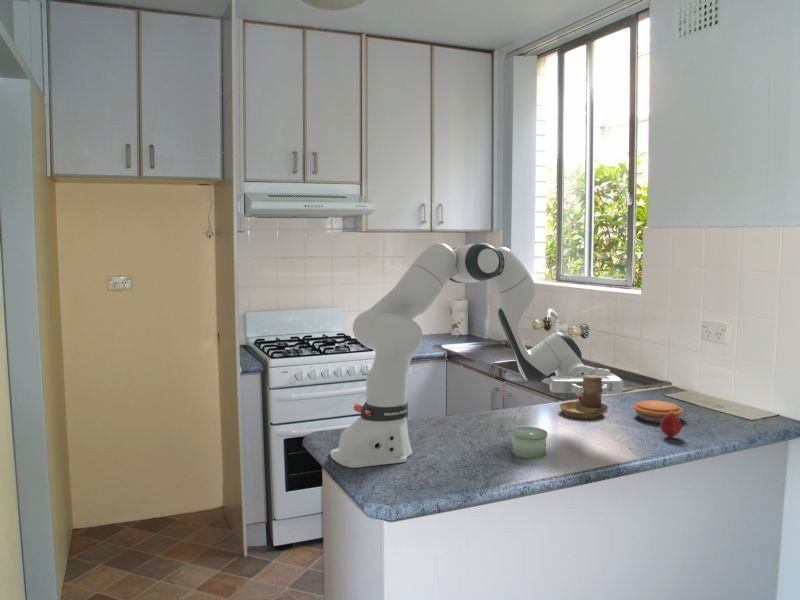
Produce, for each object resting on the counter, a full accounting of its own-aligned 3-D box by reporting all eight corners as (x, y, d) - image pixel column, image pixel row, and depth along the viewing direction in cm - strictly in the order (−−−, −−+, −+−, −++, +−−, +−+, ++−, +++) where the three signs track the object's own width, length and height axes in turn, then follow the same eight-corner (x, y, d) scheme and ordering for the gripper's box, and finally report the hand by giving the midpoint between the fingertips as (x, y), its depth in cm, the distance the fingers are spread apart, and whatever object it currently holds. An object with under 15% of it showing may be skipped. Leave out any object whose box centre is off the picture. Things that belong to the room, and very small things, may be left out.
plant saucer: (572, 406, 236) (572, 399, 236) (612, 414, 226) (612, 406, 226) (550, 414, 226) (550, 407, 225) (591, 423, 216) (591, 415, 215)
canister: (527, 461, 179) (527, 439, 179) (504, 451, 188) (504, 430, 187) (554, 455, 184) (554, 433, 184) (530, 445, 193) (531, 425, 192)
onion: (668, 441, 197) (669, 414, 196) (655, 435, 202) (656, 409, 202) (685, 439, 198) (686, 413, 198) (672, 434, 204) (673, 408, 203)
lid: (591, 415, 180) (592, 381, 179) (569, 408, 187) (570, 375, 186) (614, 411, 184) (615, 378, 183) (591, 404, 191) (592, 372, 190)
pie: (674, 412, 228) (675, 398, 228) (689, 426, 213) (690, 410, 212) (627, 411, 230) (628, 397, 229) (639, 424, 214) (639, 409, 214)
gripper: (544, 369, 197) (555, 379, 184) (614, 369, 197) (630, 379, 184) (543, 390, 198) (554, 402, 184) (613, 390, 198) (629, 402, 184)
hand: (593, 391), depth 184 cm, fingers closed on lid, 5 cm apart
